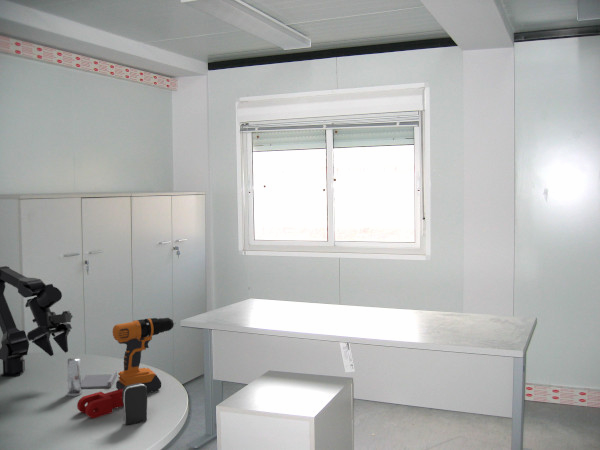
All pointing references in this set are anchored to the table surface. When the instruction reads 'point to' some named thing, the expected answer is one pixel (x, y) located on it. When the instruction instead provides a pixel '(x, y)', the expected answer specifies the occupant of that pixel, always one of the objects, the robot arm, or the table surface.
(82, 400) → the mechanical linkage
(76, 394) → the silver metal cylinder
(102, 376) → the bracket
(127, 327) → the power drill
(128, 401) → the battery charger
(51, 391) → the table surface
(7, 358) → the robot arm
